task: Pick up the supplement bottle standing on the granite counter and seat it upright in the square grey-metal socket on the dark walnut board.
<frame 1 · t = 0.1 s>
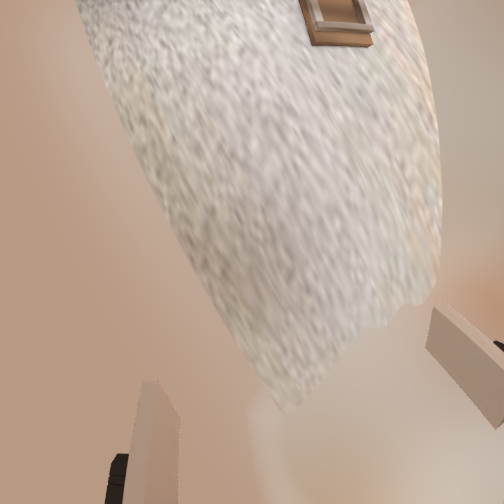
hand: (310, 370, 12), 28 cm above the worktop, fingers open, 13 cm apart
socket board: (331, 11, 28), on the worktop
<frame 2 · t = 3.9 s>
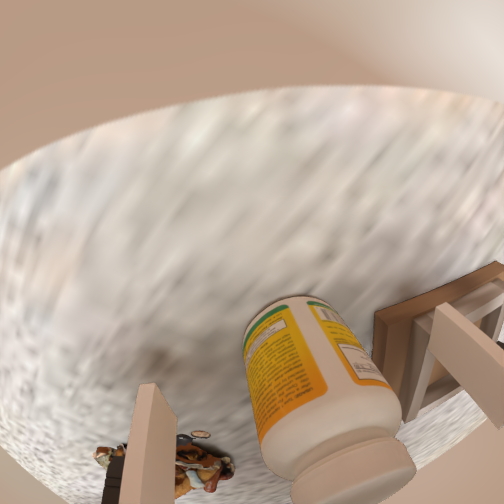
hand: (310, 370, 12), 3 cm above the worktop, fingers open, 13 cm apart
supplement bottle: (290, 335, 15), on the worktop
socket board: (439, 336, 17), on the worktop
brown lumpy food piece: (159, 456, 18), on the worktop
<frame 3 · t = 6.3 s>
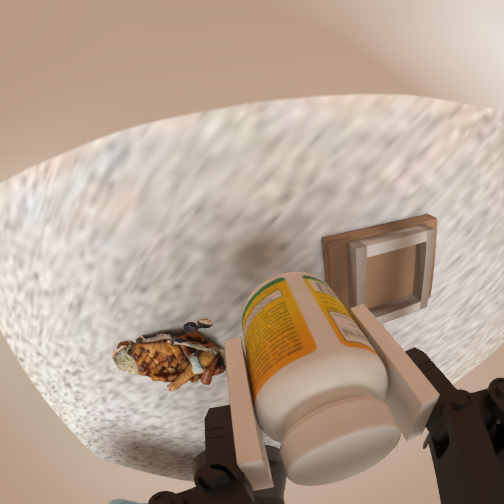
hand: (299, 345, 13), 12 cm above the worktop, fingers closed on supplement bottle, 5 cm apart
supplement bottle: (287, 310, 16), point 9 cm above the worktop, touching gripper
socket board: (381, 268, 26), on the worktop
brown lumpy food piece: (168, 353, 28), on the worktop
when the fingers open (4 cm above the worktop, at t = 10.0 s): supplement bottle stays where it is, resting on socket board.
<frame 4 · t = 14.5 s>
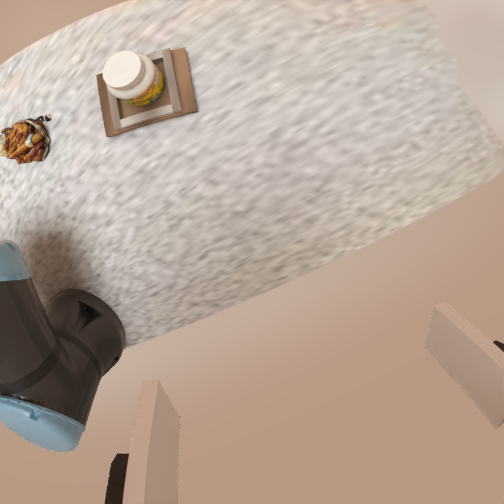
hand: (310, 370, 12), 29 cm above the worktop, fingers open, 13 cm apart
supplement bottle: (144, 87, 30), point 1 cm above the worktop, touching socket board
socket board: (146, 92, 31), on the worktop
brown lumpy food piece: (24, 142, 30), on the worktop
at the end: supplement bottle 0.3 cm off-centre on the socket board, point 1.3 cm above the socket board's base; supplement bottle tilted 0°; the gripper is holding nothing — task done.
